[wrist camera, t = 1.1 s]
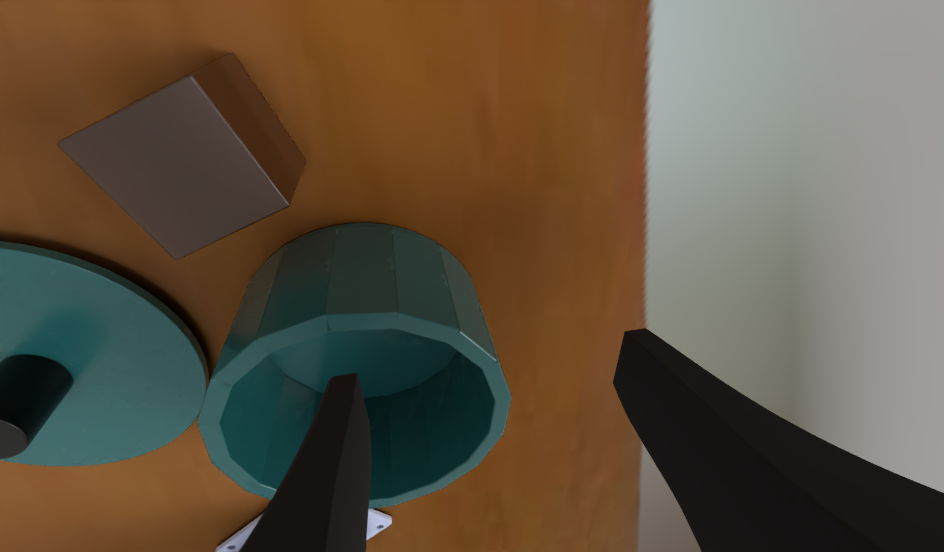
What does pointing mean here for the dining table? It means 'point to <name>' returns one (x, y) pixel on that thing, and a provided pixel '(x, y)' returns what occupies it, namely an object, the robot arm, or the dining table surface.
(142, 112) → the block
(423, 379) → the tin
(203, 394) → the lid
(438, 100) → the dining table surface
